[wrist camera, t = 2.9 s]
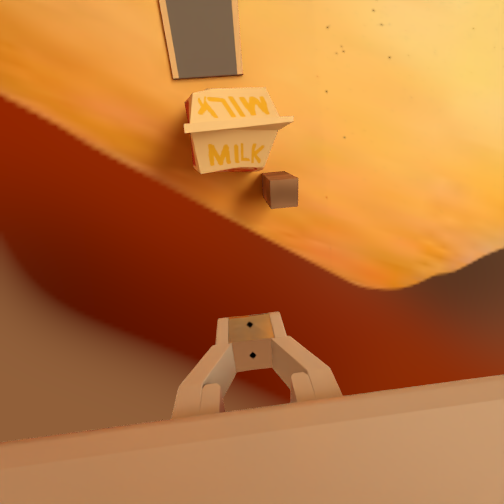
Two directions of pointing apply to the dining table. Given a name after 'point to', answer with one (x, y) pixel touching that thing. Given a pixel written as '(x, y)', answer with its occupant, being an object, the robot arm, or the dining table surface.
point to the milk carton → (232, 128)
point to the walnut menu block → (280, 189)
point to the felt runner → (202, 37)
